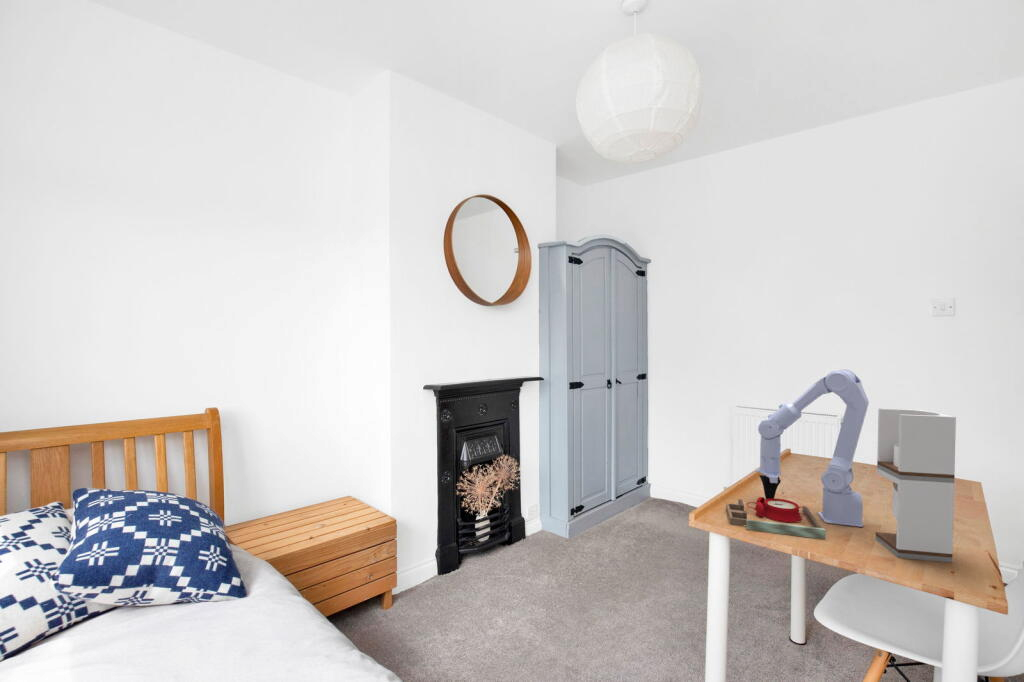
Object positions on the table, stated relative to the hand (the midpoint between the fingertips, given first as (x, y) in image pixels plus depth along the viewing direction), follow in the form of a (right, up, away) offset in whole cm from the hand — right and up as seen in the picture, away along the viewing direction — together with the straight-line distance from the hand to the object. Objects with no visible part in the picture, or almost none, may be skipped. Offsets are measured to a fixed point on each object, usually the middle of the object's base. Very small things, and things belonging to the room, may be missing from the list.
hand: (769, 499), depth 157 cm
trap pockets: (-16, -2, -11) cm, 20 cm away
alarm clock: (-3, -2, -10) cm, 10 cm away
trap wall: (-5, -2, -13) cm, 14 cm away
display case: (+19, -3, -33) cm, 38 cm away
